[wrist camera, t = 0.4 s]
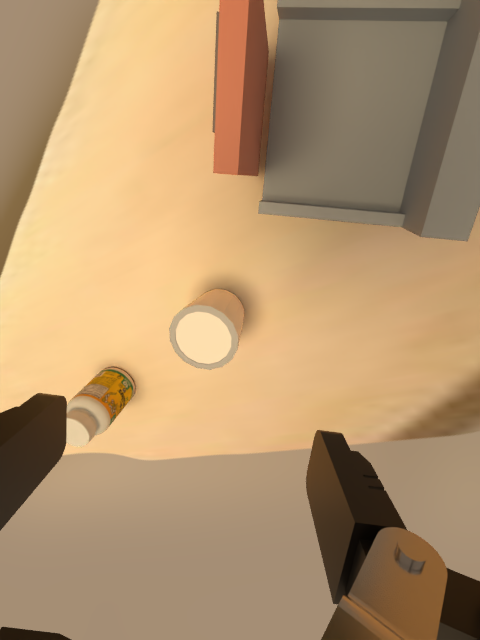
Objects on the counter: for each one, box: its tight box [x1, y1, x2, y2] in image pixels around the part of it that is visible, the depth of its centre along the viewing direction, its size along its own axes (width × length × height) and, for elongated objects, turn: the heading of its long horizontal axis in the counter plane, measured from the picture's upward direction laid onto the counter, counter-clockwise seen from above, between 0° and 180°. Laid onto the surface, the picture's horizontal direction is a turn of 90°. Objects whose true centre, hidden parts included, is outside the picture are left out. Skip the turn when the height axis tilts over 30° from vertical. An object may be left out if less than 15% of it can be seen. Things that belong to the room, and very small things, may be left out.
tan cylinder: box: [169, 289, 244, 370], centre depth 35 cm, size 7×7×7 cm
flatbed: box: [258, 0, 480, 241], centre depth 25 cm, size 15×15×9 cm
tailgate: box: [213, 0, 269, 176], centre depth 21 cm, size 2×9×15 cm, turn 176°
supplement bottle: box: [66, 367, 135, 447], centre depth 40 cm, size 5×5×10 cm
